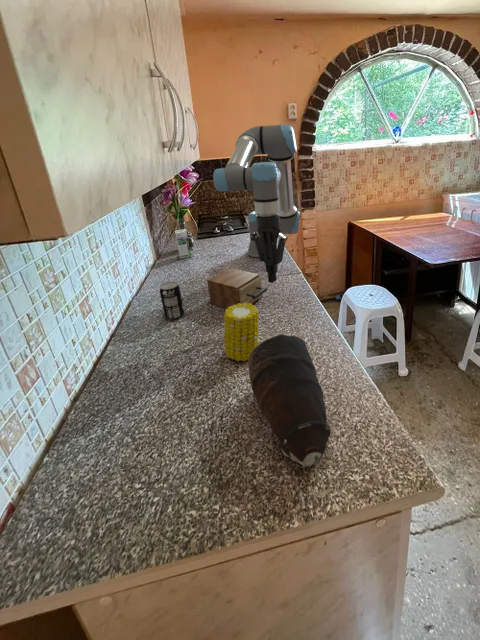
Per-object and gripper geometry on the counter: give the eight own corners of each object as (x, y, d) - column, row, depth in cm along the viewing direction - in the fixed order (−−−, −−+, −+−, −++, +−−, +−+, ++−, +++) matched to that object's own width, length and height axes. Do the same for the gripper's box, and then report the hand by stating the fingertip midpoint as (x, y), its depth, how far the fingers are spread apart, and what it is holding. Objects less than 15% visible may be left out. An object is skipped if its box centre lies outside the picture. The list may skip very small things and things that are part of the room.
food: (223, 352, 92) (257, 346, 95) (228, 370, 81) (266, 362, 84) (218, 302, 90) (252, 297, 93) (222, 314, 79) (261, 307, 82)
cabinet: (260, 297, 120) (258, 274, 117) (239, 312, 110) (237, 287, 107) (232, 289, 128) (229, 267, 124) (210, 302, 118) (206, 279, 114)
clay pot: (276, 451, 48) (248, 336, 68) (266, 499, 55) (243, 382, 76) (360, 431, 52) (310, 329, 73) (341, 479, 60) (300, 373, 80)
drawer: (271, 298, 117) (270, 279, 114) (252, 312, 108) (250, 292, 105) (235, 289, 126) (233, 271, 123) (215, 301, 117) (212, 282, 114)
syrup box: (179, 259, 165) (175, 232, 160) (179, 255, 170) (174, 230, 165) (191, 257, 166) (186, 231, 161) (190, 253, 172) (185, 228, 167)
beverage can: (176, 309, 114) (170, 279, 110) (188, 313, 111) (183, 283, 107) (161, 317, 109) (154, 287, 105) (174, 322, 106) (167, 291, 102)
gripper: (291, 212, 97) (294, 280, 106) (258, 209, 104) (263, 273, 112) (278, 218, 91) (282, 289, 100) (243, 214, 98) (250, 281, 106)
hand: (272, 281), depth 106 cm, fingers closed
